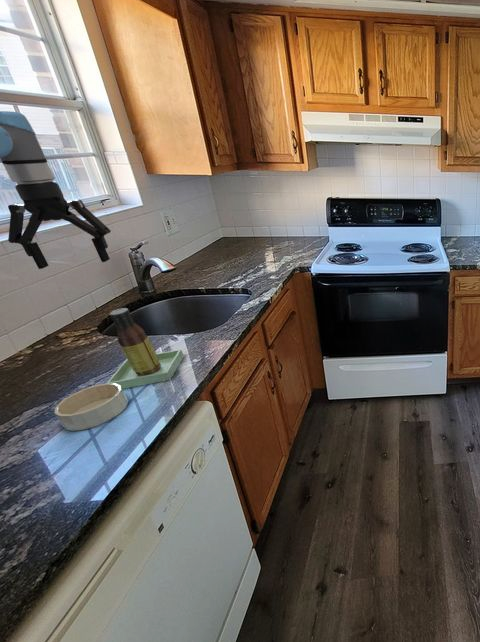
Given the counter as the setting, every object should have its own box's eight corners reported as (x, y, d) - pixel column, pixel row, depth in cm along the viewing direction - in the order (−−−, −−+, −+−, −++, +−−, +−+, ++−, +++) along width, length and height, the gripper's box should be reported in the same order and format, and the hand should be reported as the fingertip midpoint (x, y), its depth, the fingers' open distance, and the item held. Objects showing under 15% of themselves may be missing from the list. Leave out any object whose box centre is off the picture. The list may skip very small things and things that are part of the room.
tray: (109, 391, 99) (105, 384, 98) (129, 365, 110) (126, 358, 109) (170, 379, 103) (167, 372, 102) (183, 355, 114) (181, 349, 113)
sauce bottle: (150, 363, 110) (123, 304, 101) (167, 365, 109) (141, 305, 100) (128, 376, 104) (98, 314, 96) (146, 378, 103) (117, 316, 94)
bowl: (51, 436, 84) (41, 421, 82) (80, 403, 95) (72, 389, 93) (115, 422, 88) (107, 408, 86) (136, 392, 98) (129, 378, 96)
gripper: (104, 177, 97) (135, 254, 106) (-20, 183, 89) (26, 265, 98) (89, 180, 90) (124, 261, 99) (-45, 187, 83) (6, 274, 92)
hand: (75, 264), depth 99 cm, fingers open, 13 cm apart
